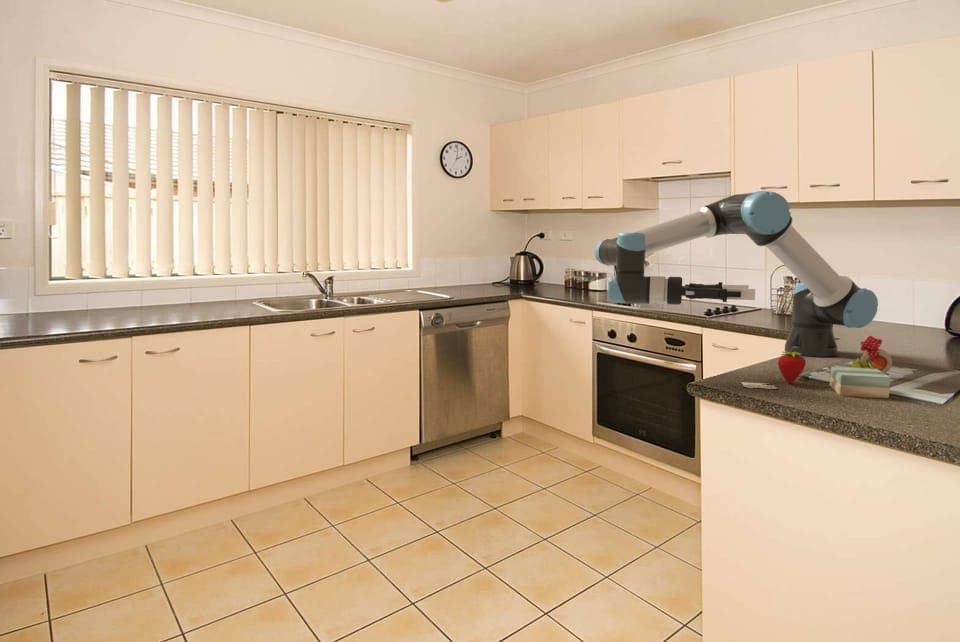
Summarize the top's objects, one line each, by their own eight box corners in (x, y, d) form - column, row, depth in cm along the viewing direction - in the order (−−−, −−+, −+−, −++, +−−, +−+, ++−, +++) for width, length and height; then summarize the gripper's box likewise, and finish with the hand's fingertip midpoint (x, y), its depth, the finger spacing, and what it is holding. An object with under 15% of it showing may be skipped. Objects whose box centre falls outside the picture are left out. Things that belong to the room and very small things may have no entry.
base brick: (829, 385, 154) (831, 366, 154) (875, 388, 151) (876, 368, 151) (840, 395, 145) (841, 374, 144) (888, 398, 142) (890, 377, 141)
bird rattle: (877, 381, 167) (843, 366, 170) (899, 346, 164) (864, 331, 166) (881, 387, 161) (846, 371, 164) (905, 350, 158) (868, 334, 161)
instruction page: (740, 382, 158) (740, 382, 158) (774, 384, 156) (774, 383, 156) (743, 388, 153) (743, 387, 153) (778, 390, 150) (778, 389, 150)
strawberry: (809, 383, 157) (812, 345, 155) (794, 388, 152) (796, 348, 151) (787, 379, 161) (789, 342, 160) (771, 383, 157) (773, 345, 156)
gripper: (666, 299, 178) (745, 301, 171) (665, 309, 154) (757, 311, 148) (667, 274, 177) (746, 275, 170) (666, 279, 153) (758, 281, 147)
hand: (751, 292), depth 159 cm, fingers open, 13 cm apart
